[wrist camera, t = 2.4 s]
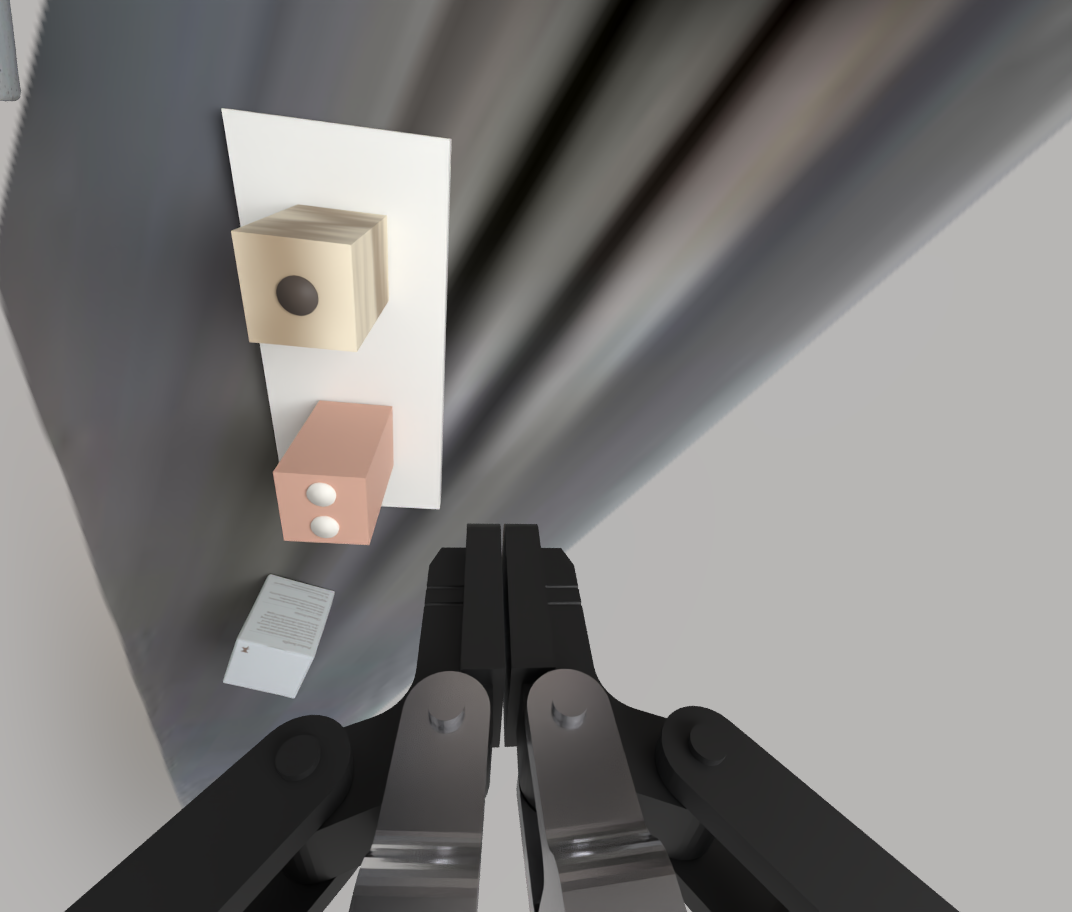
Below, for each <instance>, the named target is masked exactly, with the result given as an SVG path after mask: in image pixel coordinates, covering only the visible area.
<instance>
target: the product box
mask: <svg viewBox="0 0 1072 912" xmlns="http://www.w3.org/2000/svg"><path fill="white" fill-rule="evenodd" d="M334 594H335V592H334V591H331V590H327V589H323V588H320V587H316V586H312V585H308V584H305V583H301V582H297V581H294V580H290V579H286V578H283V577H279V576H276V575H272V574H269V575H268V577H267V579H266V581H265V582H264V584H263V587H262V589H261V591H260V593H259V595H258V597H257V599H256V601H255V603H254V605H253V607H252V609H251V611H250V613H249V615H248V617H247V619H246V621H245V623H244V625H243V627H242V629H241V631H240V633H239V635H238V637H237V640H236V643H235V646H234V649H233V652H232V654H231V657H230V660H229V663H228V666H227V670H226V673H225V676H224V679H223V682H224V683H227V684H232V685H237V686H241V687H246V688H251V689H255V690H260V691H264V692H268V693H273V694H277V695H282V696H286V697H290V698H295V696H296V694H297V692H298V690H299V688H300V686H301V684H302V682H303V680H304V678H305V676H306V674H307V672H308V669H309V667H310V665H311V663H312V661H313V659H314V657H315V654H316V650H317V647H318V644H319V641H320V638H321V635H322V632H323V629H324V626H325V623H326V620H327V617H328V614H329V611H330V608H331V604H332V601H333V598H334Z"/></svg>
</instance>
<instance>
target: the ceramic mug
mask: <svg viewBox="0 0 1072 912" xmlns="http://www.w3.org/2000/svg"><path fill="white" fill-rule="evenodd" d="M16 59H17V58H16V49H15V41H14V32H13V24H12V16H11V8H10V0H0V101H16V100H18V99H19V98H20V93H21V89H20V83H19V76H18V68H17V60H16Z"/></svg>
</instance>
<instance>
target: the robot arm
mask: <svg viewBox="0 0 1072 912" xmlns="http://www.w3.org/2000/svg"><path fill="white" fill-rule="evenodd" d="M502 707H503V708H504V742H505V747H510V746H511V747H512V746H517V756H518V781H517V801H518V810H519V818H520V828H521V837H522V846H523V854H524V864H525V873H526V881H527V890H528V899H529V908H530V912H687V910H686V907H685V904H686V905H687V906H688V907H689V909H690V910H691V911H692V912H959V911H958V910H957V909H955V908H954V907H953V906H952V905H951V904H949V903H948V902H947V901H945V900H944V899H943V898H942V897H941V896H940V895H938V894H937V893H936V892H935V891H934V890H932V889H931V888H930V887H929V886H928V885H926V884H925V883H924V882H923V881H922V880H920V879H919V878H918V877H917V876H916V875H914V874H913V873H912V872H911V871H910V870H908V869H907V868H906V867H905V866H904V865H902V864H901V863H900V862H899V861H898V860H896V859H895V858H894V857H893V856H892V855H890V854H889V853H888V852H887V851H885V850H884V849H883V848H882V847H881V846H880V845H878V844H877V843H876V842H875V841H874V840H872V839H871V838H870V837H869V836H867V835H866V834H865V833H864V832H863V831H862V830H860V829H859V828H858V827H857V826H855V825H854V824H853V823H852V822H851V821H849V820H848V819H847V818H846V817H845V816H843V815H842V814H841V813H840V812H839V811H837V810H836V809H835V808H834V807H833V806H831V805H830V804H829V803H828V802H827V801H825V800H824V799H823V798H822V797H821V796H819V795H818V794H817V793H816V792H815V791H813V790H812V789H811V788H810V787H809V786H807V785H806V784H805V783H804V782H802V781H801V780H800V779H799V778H798V777H797V776H795V775H794V774H793V773H792V772H791V771H789V770H788V769H787V768H786V767H784V766H783V765H782V764H781V763H780V762H779V761H777V760H776V759H775V758H774V757H773V756H771V755H770V754H769V753H768V752H766V751H765V750H764V749H763V748H762V747H760V746H759V745H758V744H757V743H756V742H754V741H753V740H752V739H751V738H750V737H748V736H747V735H746V734H744V732H742V731H741V730H740V729H739V728H737V727H736V726H735V725H734V724H733V723H732V722H730V721H729V720H728V719H726V718H725V717H724V716H722V715H721V714H719V713H717V712H715V711H713V710H710V709H708V708H704V707H698V706H687V707H683V708H680V709H678V710H676V711H674V712H673V713H672V714H670V715H669V717H668V718H664V717H661V716H657V715H654V714H651V713H647V712H644V711H640V710H637V709H634V708H632V707H629V706H626V705H625V704H623V703H621V702H620V701H618V700H617V699H615V698H614V697H613V696H612V695H611V694H609V693H608V692H607V691H606V689H605V688H604V687H603V686H602V684H601V683H600V681H599V679H598V677H597V675H596V672H595V669H594V665H593V660H592V655H591V650H590V644H589V639H588V635H587V629H586V625H585V619H584V614H583V609H582V606H581V599H580V594H579V589H578V584H577V578H576V573H575V568H574V565H573V563H572V562H571V561H570V559H569V558H568V557H567V555H566V554H565V553H564V551H563V550H562V549H561V548H541V546H540V538H539V530H538V525H537V524H504V531H503V546H502V553H501V527H500V524H467V538H466V548H441V549H440V551H439V552H438V554H437V555H436V556H435V558H434V559H433V561H432V562H431V564H430V565H429V573H428V581H427V590H426V597H425V607H424V613H423V621H422V629H421V637H420V644H419V652H418V660H417V668H416V674H415V678H414V681H413V683H412V685H411V687H410V689H409V690H408V692H407V693H406V694H405V696H404V697H403V698H402V699H401V700H400V701H399V702H398V703H397V704H396V705H394V706H393V707H392V708H390V709H389V710H387V711H385V712H384V713H382V714H379V715H377V716H375V717H372V718H369V719H366V720H363V721H361V722H358V723H355V724H352V725H349V726H346V727H342V726H341V725H340V724H339V723H338V722H337V721H335V720H334V719H331V718H329V717H326V716H321V715H308V716H302V717H298V718H295V719H292V720H290V721H288V722H286V723H284V724H282V725H281V726H279V727H277V728H276V729H275V730H273V731H272V732H271V733H269V734H268V735H267V736H266V737H265V738H264V739H263V740H261V741H260V742H259V743H258V744H257V745H256V746H255V747H253V748H252V749H251V750H250V751H249V752H248V753H246V754H245V755H244V756H243V757H242V758H241V759H240V760H238V761H237V762H236V763H235V764H234V765H233V766H231V767H230V768H229V769H228V770H227V771H226V772H225V773H223V774H222V775H221V776H220V777H219V778H218V779H217V780H215V781H214V782H213V783H212V784H211V785H210V786H208V787H207V788H206V789H205V790H204V791H203V792H202V793H200V794H199V795H198V796H197V797H196V798H195V799H194V800H192V801H191V802H190V803H189V804H188V805H187V806H185V807H184V808H183V809H182V810H181V811H180V812H179V813H177V814H176V815H175V816H174V817H173V818H172V819H170V820H169V821H168V822H167V823H166V824H165V825H164V826H162V827H161V828H160V829H159V830H158V831H157V832H156V833H155V834H153V835H152V836H151V837H150V838H149V839H147V840H146V841H145V842H144V843H143V844H142V845H141V846H139V847H138V848H137V849H136V850H135V851H134V852H133V853H131V854H130V855H129V856H128V857H127V858H126V859H124V860H123V861H122V862H121V863H120V864H119V865H118V866H116V867H115V868H114V869H113V870H112V871H111V872H109V873H108V874H107V875H106V876H105V877H104V878H103V879H101V880H100V881H99V882H98V883H97V884H96V885H94V886H93V887H92V888H91V889H90V890H89V891H88V892H86V893H85V894H84V895H83V896H82V897H81V898H80V899H79V900H77V901H76V902H75V903H74V904H73V905H71V906H70V907H69V908H68V909H67V910H66V911H65V912H323V911H324V909H325V908H326V907H327V906H328V905H329V903H330V902H331V901H332V900H333V898H334V897H335V896H336V895H337V893H338V892H339V891H340V890H341V888H342V887H343V886H344V885H345V883H346V882H347V881H348V880H349V879H350V877H351V876H352V875H353V873H354V872H355V871H356V869H357V868H358V867H359V866H361V867H360V870H359V873H358V876H357V880H356V884H355V888H354V892H353V896H352V900H351V904H350V909H349V912H477V909H478V893H479V880H480V879H479V878H480V863H481V849H482V835H483V821H484V805H485V797H486V795H487V793H488V789H489V783H490V770H491V754H492V747H499V744H500V732H501V720H502ZM684 903H685V904H684Z"/></svg>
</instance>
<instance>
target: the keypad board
mask: <svg viewBox="0 0 1072 912" xmlns="http://www.w3.org/2000/svg"><path fill="white" fill-rule="evenodd" d="M221 110H222V116H223V122H224V128H225V134H226V140H227V146H228V152H229V158H230V165H231V171H232V177H233V183H234V189H235V195H236V201H237V207H238V214H239V220H240V226H241V227H242V226H245V225H247V224H250V223H252V222H255V221H257V220H260V219H262V218H265V217H267V216H270V215H272V214H275V213H277V212H280V211H283V210H285V209H288V208H290V207H293V206H295V205H298V204H299V205H307V206H315V207H323V208H331V209H339V210H347V211H355V212H363V213H371V214H379V215H387V233H388V281H389V301H388V303H387V305H386V306H385V308H384V309H383V311H382V313H381V314H380V316H379V317H378V319H377V321H376V322H375V324H374V325H373V327H372V329H371V330H370V332H369V334H368V335H367V337H366V338H365V340H364V342H363V343H362V345H361V346H360V348H359V350H358V351H357V352H350V351H339V350H328V349H318V348H307V347H297V346H286V345H275V344H265V343H260V348H261V354H262V360H263V366H264V373H265V379H266V385H267V391H268V397H269V403H270V409H271V415H272V421H273V428H274V434H275V440H276V446H277V452H278V458H279V462H280V460H281V459H282V457H283V456H284V454H285V453H286V451H287V450H288V448H289V446H290V445H291V443H292V442H293V440H294V439H295V437H296V436H297V434H298V433H299V431H300V430H301V428H302V426H303V425H304V423H305V422H306V420H307V419H308V417H309V416H310V414H311V413H312V411H313V409H314V408H315V406H316V405H317V403H318V402H319V400H321V401H333V402H345V403H357V404H369V405H381V406H392V407H393V459H394V466H393V469H392V472H391V475H390V479H389V482H388V485H387V489H386V492H385V495H384V498H383V502H382V505H381V506H389V507H407V508H425V509H440V503H441V479H442V445H443V411H444V378H445V344H446V310H447V276H448V242H449V208H450V174H451V140H452V139H449V138H442V137H434V136H427V135H419V134H412V133H405V132H397V131H390V130H383V129H375V128H368V127H361V126H353V125H346V124H338V123H331V122H324V121H316V120H309V119H302V118H294V117H287V116H279V115H272V114H265V113H257V112H250V111H243V110H235V109H224V108H221Z"/></svg>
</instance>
